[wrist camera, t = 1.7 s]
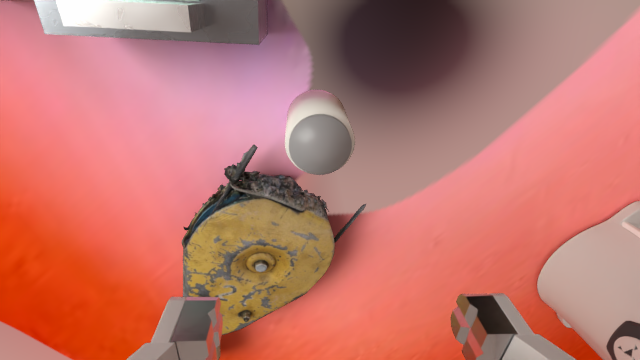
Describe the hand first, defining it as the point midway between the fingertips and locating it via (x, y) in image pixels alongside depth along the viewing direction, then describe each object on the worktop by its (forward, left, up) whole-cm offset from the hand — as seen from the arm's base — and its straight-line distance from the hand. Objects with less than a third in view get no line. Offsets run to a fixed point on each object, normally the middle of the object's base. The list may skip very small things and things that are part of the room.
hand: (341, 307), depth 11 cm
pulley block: (+8, +17, -20) cm, 28 cm away
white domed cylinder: (0, 0, -20) cm, 20 cm away
